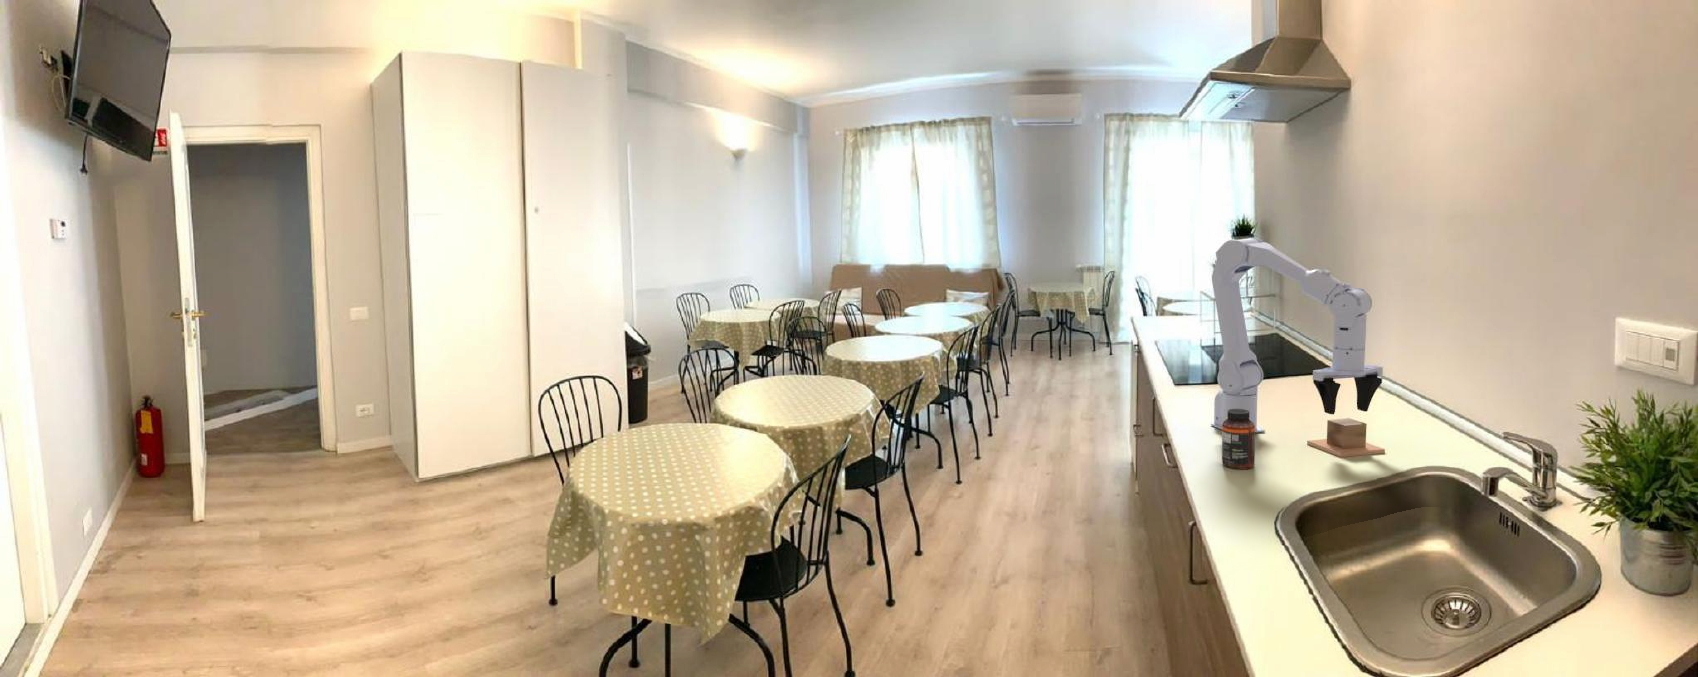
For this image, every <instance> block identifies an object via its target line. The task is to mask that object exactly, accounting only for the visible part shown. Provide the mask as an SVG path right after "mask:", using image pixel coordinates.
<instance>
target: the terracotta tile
mask: <svg viewBox="0 0 1698 677" xmlns="http://www.w3.org/2000/svg"><path fill="white" fill-rule="evenodd" d="M1306 442H1307V443H1306V445H1308V446H1309V447H1310V446H1311V447H1313V448H1316V449H1318V450H1321V451H1324V452H1326V453H1329V454H1331V455H1335V456H1336V457H1339V458H1344V457H1345V458H1346V457H1347V458H1348V457H1355V456H1365V455H1375V454H1376V455H1377V454H1384V453H1386V449H1385V448H1383V447H1380V446H1377V445H1374V444H1372V443H1368V442H1366V447H1362V448H1351V449H1342V448H1339V447H1336V446H1334V445H1331V444H1328V443H1327V438H1323V439H1312V440H1310V439H1309V440H1307V441H1306Z"/></svg>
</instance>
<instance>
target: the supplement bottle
mask: <svg viewBox="0 0 1698 677" xmlns="http://www.w3.org/2000/svg"><path fill="white" fill-rule="evenodd" d="M1227 417H1228V419H1227V420H1225V421H1224V422H1223V424H1222V429H1221V432H1222V433H1221V434H1222V435H1221V436H1222V437H1221V440H1222V441H1221V442H1222V444H1221V452H1222V453H1221V459H1222V460H1221V462H1222V465H1223V466H1224V467H1227V468H1230V469H1236V470H1247V469H1251V468H1253V467H1254V466H1255V455H1256V453H1255V451H1256V450H1255V449H1256V448H1255V440H1256V439H1255V438H1256V437H1255V436H1256V433H1255V425H1254V423H1253V422H1252V421H1250V420H1249V417H1250V416H1249V411H1248V410H1245V409H1230V410H1228V415H1227Z"/></svg>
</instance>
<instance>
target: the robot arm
mask: <svg viewBox="0 0 1698 677" xmlns="http://www.w3.org/2000/svg"><path fill="white" fill-rule="evenodd" d="M1215 257H1216V261H1215V264H1214V266H1213V271H1212V273H1211V282H1212V283H1211V284H1212V290H1213V294H1214V295H1213V296H1214V301H1215V307H1216V313H1217V320H1218V325H1219V330H1220V332H1219V333H1220V337H1221V344H1222V348H1223V353H1222V355H1221V357H1220V358H1219V361H1218V370H1219V371H1218V373H1217V377H1216V378H1217V384H1218V387H1219V388H1221V389H1220V390H1219V391H1218V392H1217V393H1216V394H1215V397H1214V409H1213V410H1214V412H1213V413H1214V414H1213V415H1214V416H1213V421H1214V422H1211V423H1210V425H1211V426H1212V427H1215V428H1217V429H1219V430H1222V424H1223V422H1224V421H1225V420H1227V419H1228V417H1227V415H1228V410H1230V409H1245V410H1248V411H1249V416H1250V417H1249V420H1250V421H1252V422H1253V423H1254V425H1255V434H1256V433H1265V432H1266V429H1264V428H1262V427H1259V426H1257V425H1258V421H1257V420H1258V386H1259V385H1261V384H1262V382H1263V380H1264V371H1263V368H1262V367H1261V365H1259V362H1258V359H1257V355H1256V354H1255V353H1254V352H1253V350H1251V348H1250V345H1249V337H1248V332H1247V327H1246V318H1245V313H1244V308H1243V303H1242V296H1241V290H1240V285H1239V284H1240V283H1239V282H1240V281H1241V279H1242V278H1243V277H1244V275H1246V273H1247V272H1248V271H1250V270H1252V269H1253V268H1255V267H1267V268H1269V269H1271V270H1273V271H1275V272H1276V273H1279V274H1281V275H1282V276H1284V277H1286V278H1288V279H1289V280H1292V281H1294V282H1296V283H1298V285H1299V289H1300V291H1301V292H1302V293H1303V294H1304V295H1306V296H1308V297H1310V298H1311V299H1313V300H1315V301H1316V302H1318V303H1320V304H1321V305H1323V306H1325V307H1326V308H1328V309H1329V311H1330V313H1331V315H1333V317H1334V323H1333V338H1332V339H1333V341H1332V358H1331V359H1332V360H1331V361H1332V363H1331V364H1332V365H1331V366H1330V367H1325V368H1321V369H1315V370H1313V369H1312V380H1313V382H1312V383H1313V384H1314V386H1315V388H1316V389H1317V392H1318V394H1319V396H1320V399H1321V402H1322V407H1323V412H1324V413H1326V414H1329V415H1335V413H1336V408H1337V397H1338V393H1339V390H1340V387H1341V383H1340V382H1336V380H1338V379H1339V380H1340V379H1352V378H1353V379H1354V382H1355V389H1356V409H1357V410H1358V411H1361V412H1368V410H1369V407H1370V405H1371V402H1372V400H1373V397H1374V395H1375V393H1376V391H1377V390H1378V389H1379V387H1380V386H1381V384H1382V383H1383V378H1381V377H1383V374H1384V373H1383V372H1384V370H1383V369H1384V367H1383V366H1379V365H1365V360H1366V356H1365V355H1366V338H1367V335H1366V334H1367V314H1368V312H1370V310H1371V309H1372V306H1373V301H1372V300H1373V299H1372V297H1371V295H1370V294H1369V293H1368V292H1367V291H1365V289H1363V288H1361V287H1354V288H1353V287H1352V284H1351V283H1349V282H1342V280H1341V281H1340V280H1339V279H1337V278H1335V277H1334V276H1332V275H1331V271H1330V270H1328V269H1320V268H1317V269H1312V270H1309V269H1308V268H1306V267H1305V266H1303V264H1300V263H1298V262H1297V261H1295V260H1294V259H1292V258H1291V257H1289V256H1288V255H1286V254H1284V253H1283V252H1281V251H1280V250H1278V249H1277V248H1275V247H1274V246H1273V245H1272V244H1270V243H1268V242H1263V241H1262V240H1261V239H1260V238H1257V237H1248V238H1242V239H1229V240H1226V241H1225V242H1224V243H1223V244H1222V245H1221V246H1220V247H1219V248H1218V249H1217V250H1216V252H1215Z"/></svg>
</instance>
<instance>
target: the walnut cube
mask: <svg viewBox="0 0 1698 677" xmlns="http://www.w3.org/2000/svg"><path fill="white" fill-rule="evenodd" d="M1326 424H1327V425H1326V426H1327V427H1326V439H1327V443H1328V444H1331V445H1334V446H1336V447H1339V448H1342V449H1351V448H1362V447H1366V443H1367V423H1366V422H1364V421H1363V422H1362V421H1359V420H1356V419H1353V418H1350V417H1345V418H1335V419H1327V423H1326Z"/></svg>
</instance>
